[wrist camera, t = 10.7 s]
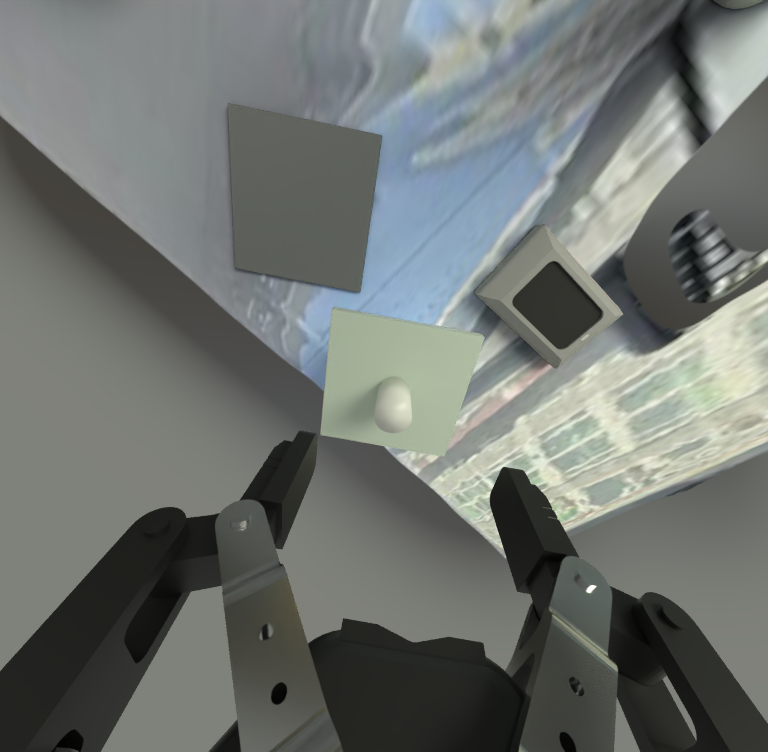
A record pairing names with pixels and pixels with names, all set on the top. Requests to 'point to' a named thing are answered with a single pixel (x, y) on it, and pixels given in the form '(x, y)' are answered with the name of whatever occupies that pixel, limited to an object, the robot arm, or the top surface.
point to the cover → (395, 380)
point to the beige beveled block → (548, 297)
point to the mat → (301, 196)
